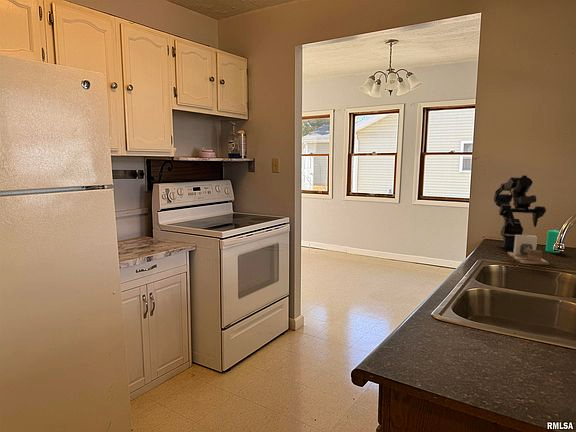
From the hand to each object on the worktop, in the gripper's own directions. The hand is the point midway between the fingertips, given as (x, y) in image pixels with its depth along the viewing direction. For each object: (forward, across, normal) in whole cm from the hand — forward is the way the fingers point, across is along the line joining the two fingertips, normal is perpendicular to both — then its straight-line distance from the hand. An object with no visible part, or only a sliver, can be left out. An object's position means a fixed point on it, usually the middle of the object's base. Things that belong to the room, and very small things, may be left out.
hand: (524, 226), depth 184 cm
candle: (0, +20, +24) cm, 31 cm away
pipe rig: (+14, +1, +6) cm, 15 cm away
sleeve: (+11, +1, +8) cm, 14 cm away
